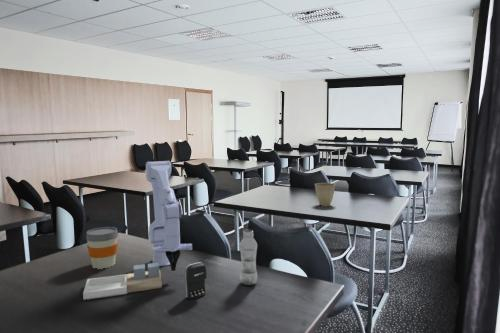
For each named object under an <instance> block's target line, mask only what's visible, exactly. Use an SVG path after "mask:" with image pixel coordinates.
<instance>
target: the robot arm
mask: <svg viewBox="0 0 500 333" xmlns="http://www.w3.org/2000/svg"><path fill="white" fill-rule="evenodd" d="M171 174H172V163H171V161H169V160H163V161H162V160H161V161H160V160H158V161H147V162H146V163H145V175H146V180H147V182H149V183H151V187H152V197H153V210H154V221H153V222H151V223H150V224H149V227H148V239H149V243H150V244H152V255H153V258H152V259H151V260H152V263H159V267H163V266H170V268H171V269H170V270H171V272H174V271H176V269H177V264H178V260H179V259H180V256H181V251H192V250H193V243H181V232H180V230H181V229H180V227H181V226H180V225H181V224H180V218H182V208H181V203H180V202H179V201H178V200H177V198H176V194H175V191H174V189H173V188H171V186H170V181H169V180H170V179H169V178H170V177H171Z"/></svg>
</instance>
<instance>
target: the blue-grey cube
mask: <svg viewBox="0 0 500 333" xmlns="http://www.w3.org/2000/svg"><path fill="white" fill-rule="evenodd" d="M159 270H160V266H159V263H153V262H151V263H147V271H148V278H154V277H160V274H161V273H160V274H159Z"/></svg>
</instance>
